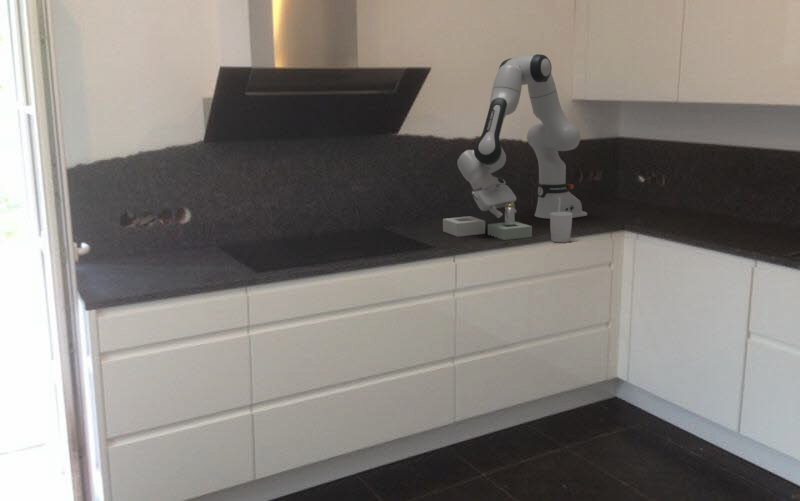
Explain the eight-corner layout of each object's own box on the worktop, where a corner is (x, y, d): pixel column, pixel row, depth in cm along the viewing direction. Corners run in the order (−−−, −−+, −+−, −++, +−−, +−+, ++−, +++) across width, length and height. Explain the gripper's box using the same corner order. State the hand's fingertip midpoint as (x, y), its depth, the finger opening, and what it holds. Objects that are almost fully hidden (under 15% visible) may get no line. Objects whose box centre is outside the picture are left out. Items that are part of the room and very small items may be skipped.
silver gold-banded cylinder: (511, 234, 282) (511, 203, 280) (516, 236, 279) (516, 204, 277) (502, 235, 281) (503, 203, 278) (507, 237, 278) (508, 205, 275)
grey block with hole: (470, 228, 296) (470, 216, 295) (485, 233, 285) (485, 220, 284) (443, 231, 291) (442, 218, 290) (457, 236, 281) (457, 223, 279)
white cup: (553, 238, 274) (554, 211, 272) (574, 239, 270) (575, 212, 268) (546, 242, 268) (546, 214, 265) (567, 243, 264) (568, 216, 261)
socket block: (514, 231, 288) (515, 221, 287) (532, 236, 277) (532, 226, 276) (487, 234, 283) (487, 224, 282) (503, 240, 272) (504, 229, 272)
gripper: (474, 184, 274) (496, 213, 269) (506, 179, 289) (527, 206, 284) (465, 195, 278) (486, 224, 273) (496, 189, 292) (517, 216, 288)
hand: (507, 215), depth 279 cm, fingers open, 8 cm apart
